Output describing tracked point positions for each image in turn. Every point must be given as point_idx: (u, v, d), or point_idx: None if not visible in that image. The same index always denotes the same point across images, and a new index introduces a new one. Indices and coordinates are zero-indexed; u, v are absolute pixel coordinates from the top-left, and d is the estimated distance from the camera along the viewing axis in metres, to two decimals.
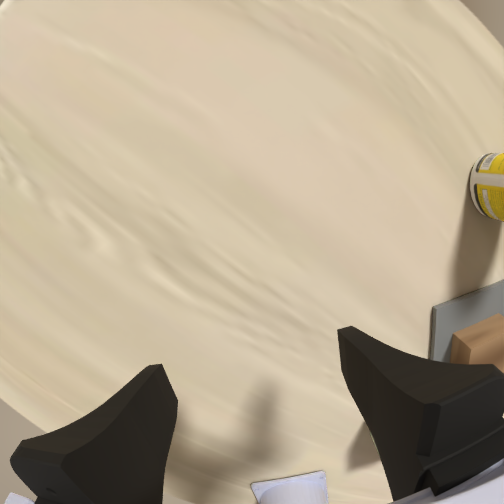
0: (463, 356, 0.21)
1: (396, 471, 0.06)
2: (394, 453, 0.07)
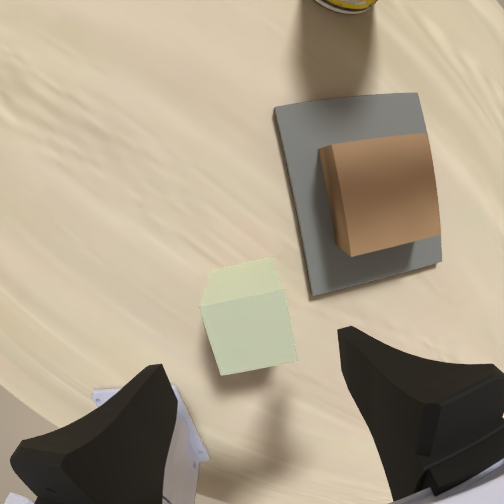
0: (331, 169, 0.16)
1: (396, 471, 0.06)
2: (394, 453, 0.07)
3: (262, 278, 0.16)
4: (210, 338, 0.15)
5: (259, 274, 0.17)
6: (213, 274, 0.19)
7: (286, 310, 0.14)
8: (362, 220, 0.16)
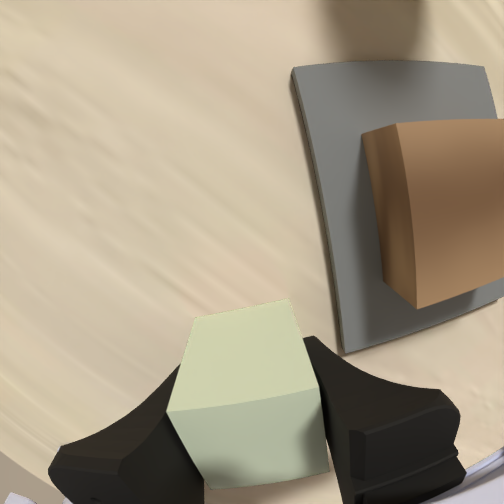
0: (391, 166, 0.09)
1: (343, 488, 0.06)
2: (340, 470, 0.07)
3: (276, 352, 0.09)
4: (190, 451, 0.08)
5: (271, 341, 0.10)
6: (197, 329, 0.12)
7: (319, 416, 0.07)
8: (437, 252, 0.09)
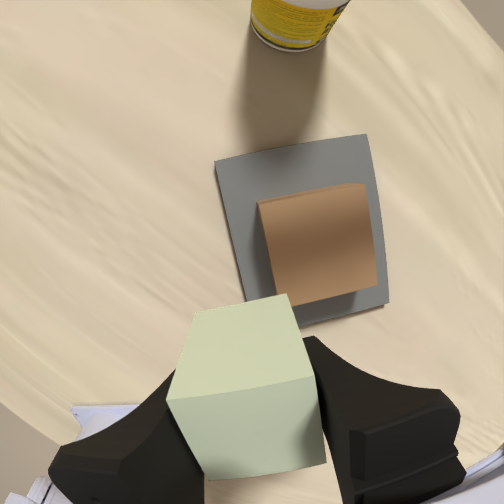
0: None
1: (343, 488, 0.06)
2: (340, 470, 0.07)
3: (273, 343, 0.10)
4: (189, 440, 0.08)
5: (268, 333, 0.10)
6: (197, 323, 0.12)
7: (315, 405, 0.08)
8: (290, 276, 0.18)
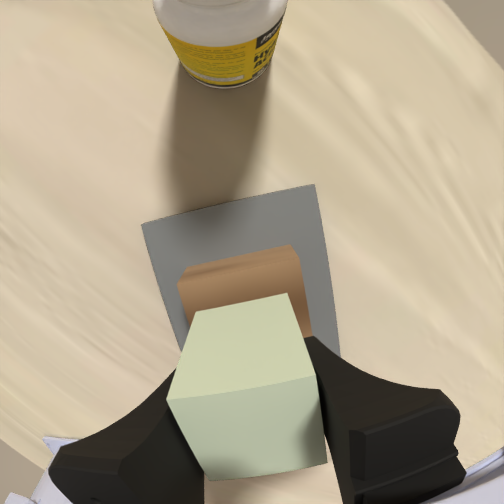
0: None
1: (343, 488, 0.06)
2: (340, 470, 0.07)
3: (274, 343, 0.10)
4: (189, 440, 0.08)
5: (269, 332, 0.10)
6: (197, 322, 0.12)
7: (316, 405, 0.08)
8: None
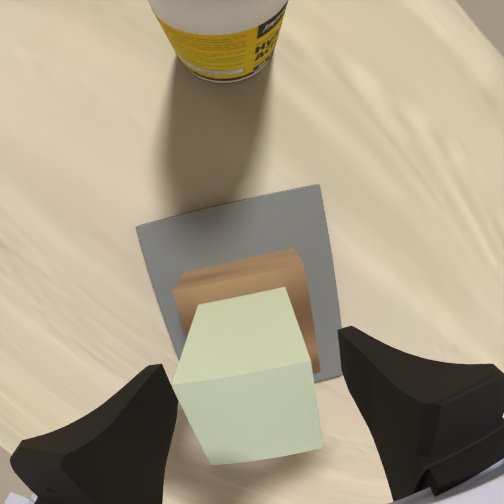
0: None
1: (396, 471, 0.06)
2: (394, 453, 0.07)
3: (272, 332, 0.10)
4: (193, 424, 0.09)
5: (268, 323, 0.11)
6: (200, 314, 0.13)
7: (311, 390, 0.08)
8: None
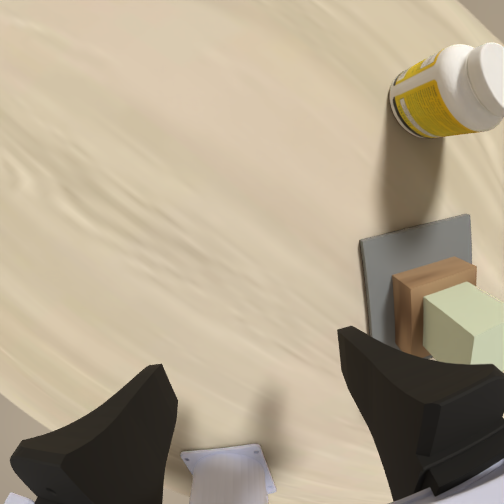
0: (405, 301, 0.20)
1: (396, 471, 0.06)
2: (394, 453, 0.07)
3: (491, 304, 0.15)
4: (471, 361, 0.13)
5: (483, 301, 0.16)
6: (435, 302, 0.18)
7: None
8: (422, 338, 0.20)
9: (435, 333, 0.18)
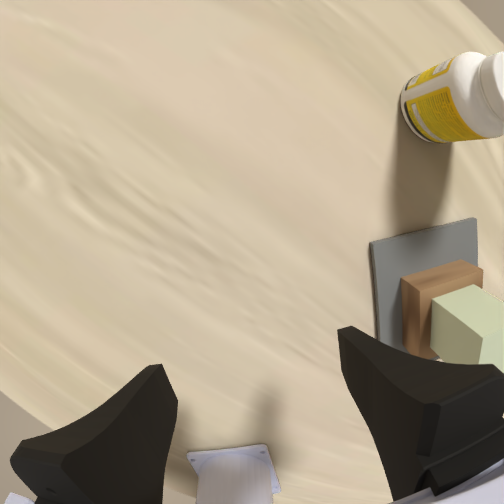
0: (413, 303, 0.20)
1: (396, 471, 0.06)
2: (394, 453, 0.07)
3: (498, 307, 0.15)
4: (479, 362, 0.13)
5: (490, 303, 0.16)
6: (443, 304, 0.18)
7: None
8: (429, 339, 0.20)
9: (443, 334, 0.18)
